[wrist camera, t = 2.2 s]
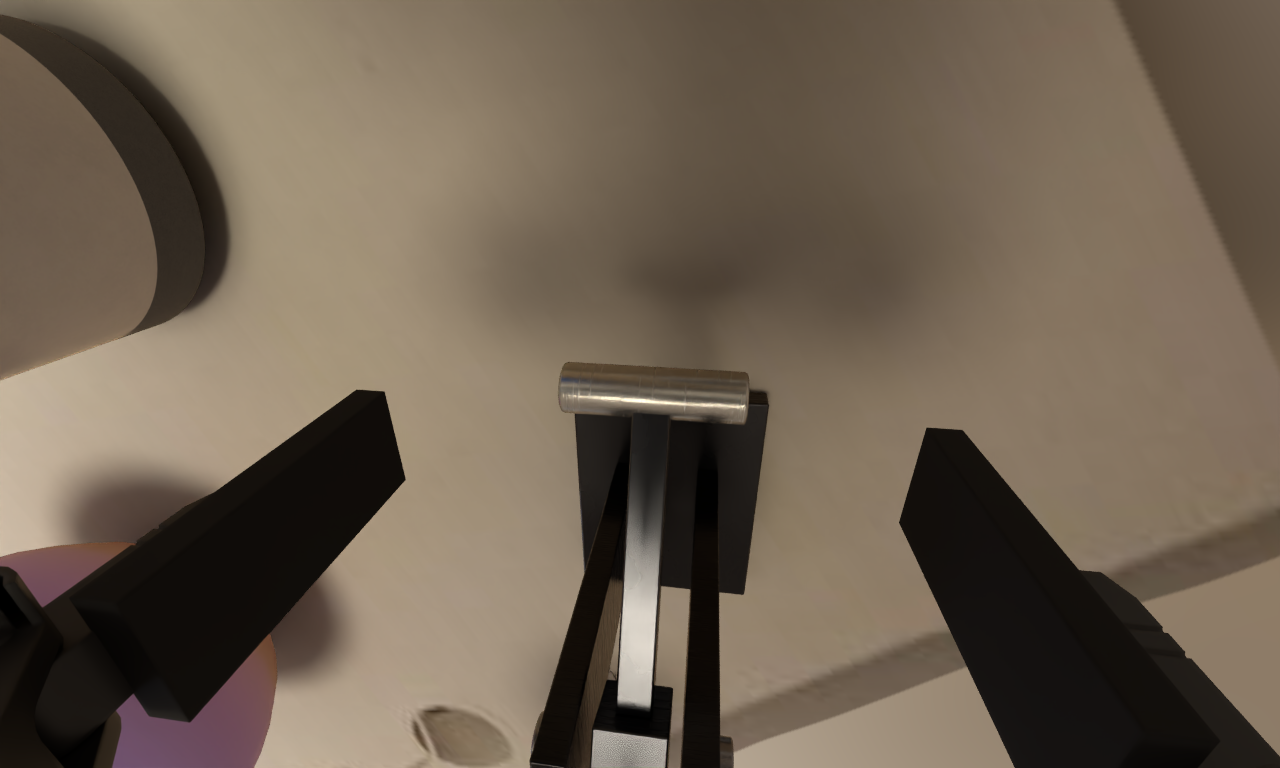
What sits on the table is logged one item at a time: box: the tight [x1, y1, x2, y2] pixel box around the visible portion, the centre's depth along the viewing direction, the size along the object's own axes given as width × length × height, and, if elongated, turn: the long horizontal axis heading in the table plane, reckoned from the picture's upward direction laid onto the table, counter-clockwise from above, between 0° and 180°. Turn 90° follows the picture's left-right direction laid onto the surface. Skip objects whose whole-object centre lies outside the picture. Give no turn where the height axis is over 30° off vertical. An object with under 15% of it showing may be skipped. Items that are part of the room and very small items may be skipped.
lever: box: [558, 362, 749, 768], centre depth 16 cm, size 13×6×2 cm, turn 0°
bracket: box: [530, 392, 769, 768], centre depth 21 cm, size 12×9×15 cm
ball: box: [0, 542, 277, 768], centre depth 28 cm, size 20×20×20 cm
